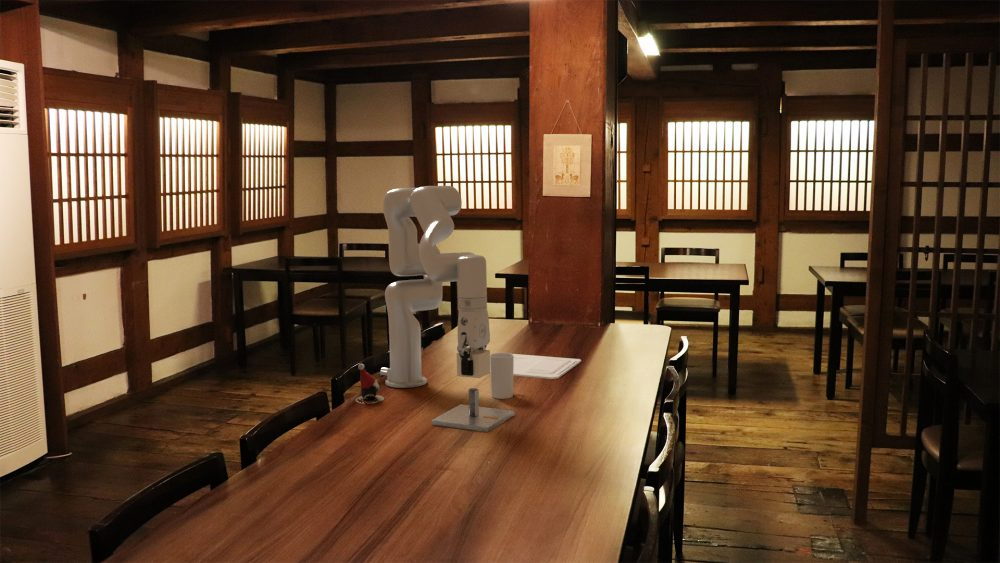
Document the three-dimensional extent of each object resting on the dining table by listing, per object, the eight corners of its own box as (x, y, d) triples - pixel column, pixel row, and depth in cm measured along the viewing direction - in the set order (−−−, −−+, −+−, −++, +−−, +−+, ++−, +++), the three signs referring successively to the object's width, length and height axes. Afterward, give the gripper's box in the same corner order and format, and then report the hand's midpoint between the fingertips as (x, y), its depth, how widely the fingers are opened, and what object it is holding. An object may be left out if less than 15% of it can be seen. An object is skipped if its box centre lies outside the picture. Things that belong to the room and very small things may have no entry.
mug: (508, 400, 242) (508, 358, 240) (486, 397, 244) (486, 356, 243) (521, 391, 251) (521, 351, 249) (500, 389, 253) (499, 349, 252)
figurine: (395, 382, 247) (375, 363, 238) (384, 414, 243) (364, 396, 233) (371, 380, 251) (351, 361, 241) (360, 411, 246) (339, 393, 237)
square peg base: (431, 424, 219) (431, 393, 218) (460, 408, 233) (459, 379, 232) (487, 432, 212) (487, 400, 211) (513, 415, 227) (513, 385, 226)
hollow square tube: (457, 376, 219) (456, 352, 219) (468, 371, 225) (467, 347, 224) (479, 378, 217) (479, 353, 216) (490, 372, 222) (489, 349, 222)
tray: (473, 373, 275) (473, 369, 275) (505, 356, 301) (505, 351, 301) (556, 381, 265) (556, 376, 265) (582, 362, 291) (582, 357, 290)
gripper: (470, 309, 209) (471, 380, 211) (499, 299, 225) (500, 366, 227) (443, 307, 212) (444, 378, 215) (474, 298, 228) (475, 364, 230)
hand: (473, 371), depth 221 cm, fingers closed on hollow square tube, 6 cm apart
